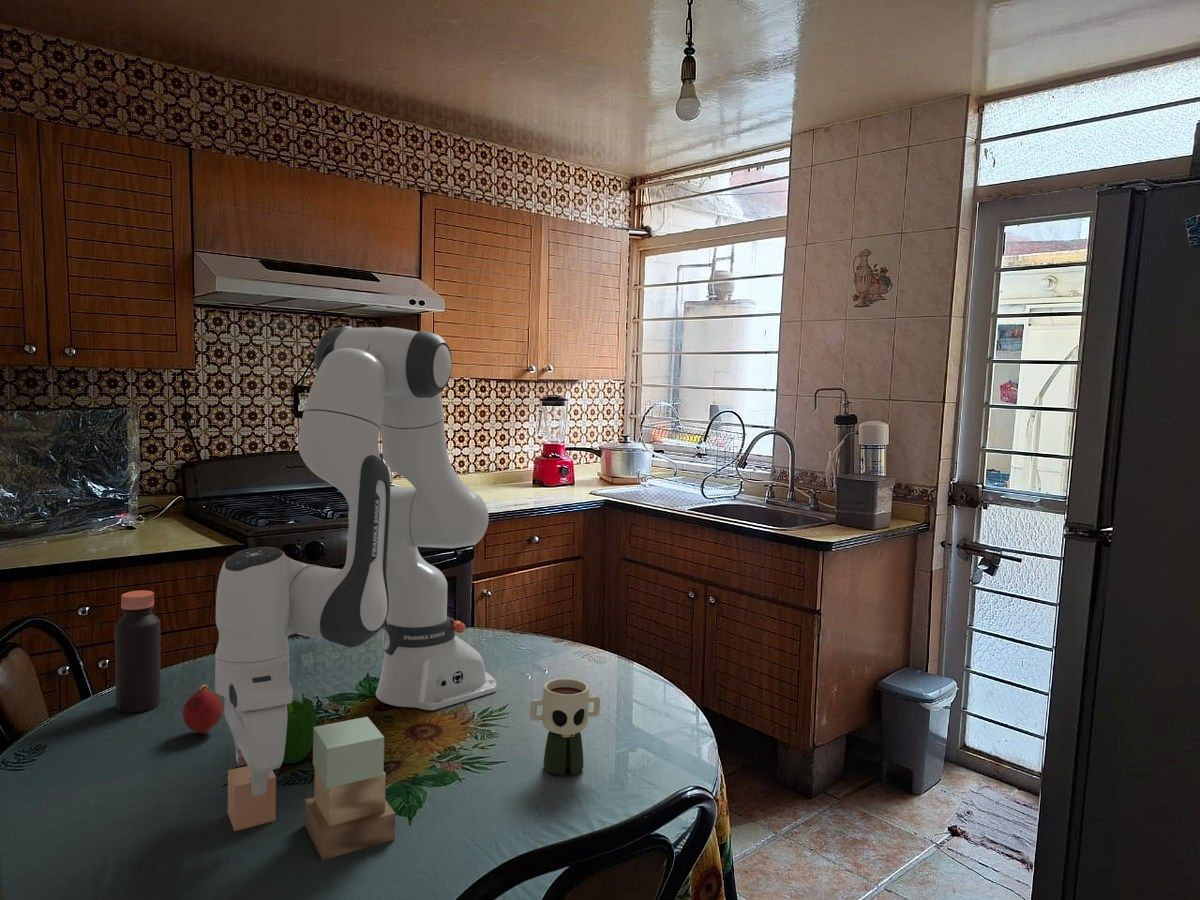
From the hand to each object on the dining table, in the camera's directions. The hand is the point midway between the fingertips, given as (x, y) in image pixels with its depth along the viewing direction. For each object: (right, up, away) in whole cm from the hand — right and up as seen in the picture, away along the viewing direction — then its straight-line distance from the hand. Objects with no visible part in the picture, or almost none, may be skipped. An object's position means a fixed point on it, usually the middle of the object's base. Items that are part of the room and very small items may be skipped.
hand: (250, 777), depth 103 cm
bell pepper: (-2, -5, +18) cm, 19 cm away
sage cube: (+14, +2, -3) cm, 14 cm away
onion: (-19, -3, +25) cm, 31 cm away
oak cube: (+14, -3, -2) cm, 14 cm away
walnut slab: (+13, -7, -2) cm, 15 cm away
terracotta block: (0, -6, +1) cm, 6 cm away
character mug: (+40, -6, +18) cm, 44 cm away
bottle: (-35, -2, +34) cm, 49 cm away
